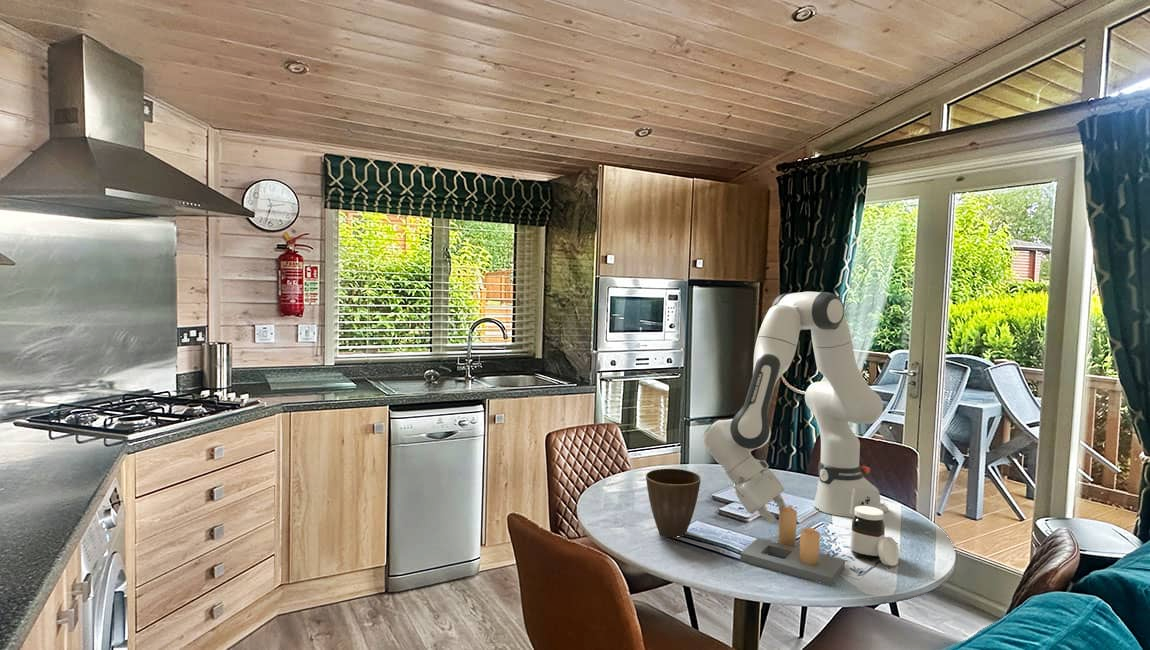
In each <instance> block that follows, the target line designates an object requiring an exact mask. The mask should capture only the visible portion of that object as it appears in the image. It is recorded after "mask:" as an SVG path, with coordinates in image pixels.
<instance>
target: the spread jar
mask: <svg viewBox="0 0 1150 650" xmlns="http://www.w3.org/2000/svg"><path fill="white" fill-rule="evenodd" d="M884 513H885V512H883V511H882V510H880V509H877V508H874V507H869V506H858V507H855V512H854V514H855V515H854V517H853V518H852V520H851V534H850V535H851V537H850V539H851V540H850V552H851V553H852V554H853V555H854V556H855V557H857V558H860V559H862V558H863V559H862V560H866V559H868V560H869V561H878V560H880V561H881V563H882V564H883V565H885V566H888V567H889V566H890V567H893V566H894V567H895V566H896V565H897V564H898V562H899V560H900V549H899V546H898V544H897V541H896V540H895V539H894V538H893V537H891V536H885V533H886V532H885V530H886V529H885V528H886V526H885V524H886V523H885V521H884ZM868 560H867V561H868Z"/></svg>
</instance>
